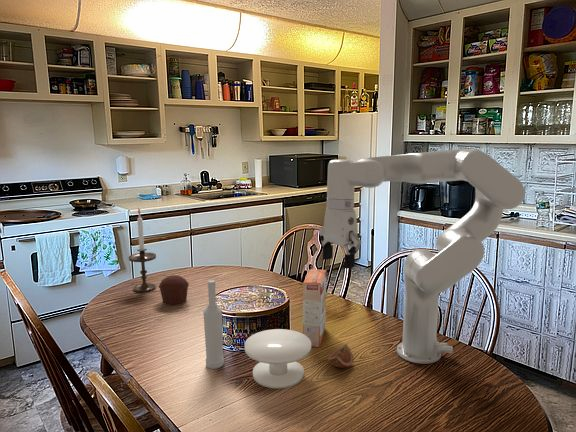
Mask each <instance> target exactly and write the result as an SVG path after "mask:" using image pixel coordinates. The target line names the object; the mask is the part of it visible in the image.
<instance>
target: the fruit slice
mask: <svg viewBox="0 0 576 432" xmlns="http://www.w3.org/2000/svg"><path fill="white" fill-rule="evenodd" d="M353 357H354V356H353V353H352V351H351V349H350V347H349V346H348V345H347V344H343V346H340V347H339V348H337V349H336V350H335V351H333V352H332V353H331V354H330V355H329V357H328V358H327V361H328V362H329V363H330V364H331V365H333V366H334V367H337V368H342V369H344V368H348V367H350V366H351V365H353V363H354V359H353Z"/></svg>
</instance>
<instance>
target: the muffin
mask: <svg viewBox="0 0 576 432" xmlns="http://www.w3.org/2000/svg"><path fill="white" fill-rule="evenodd" d="M189 286H190V283H189V282H188V281H187V280H186V278H184V277H183V276H181V275H174V274H173V275H168V276H166V277H164V278H163V279H162V280H161V281H160V283H159V285H158V289H159V290H160V295H161V299H162V303H163V304H165V305H166V306H177V305H178V306H179V305H182V304H184V303H186V301H187V298H188V296H187V295H188V290H189Z"/></svg>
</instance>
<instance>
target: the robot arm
mask: <svg viewBox="0 0 576 432" xmlns="http://www.w3.org/2000/svg"><path fill="white" fill-rule="evenodd" d="M457 181H464V182H468V183H469V184H470V185H471V186H472V187H474V189H475V191H474V192H475V198H474V202H473V206H471V208H470V210H469V211H468V212H467V213H465V215H463V216H462V217H461V218H459V219H458V220H457V221H455V223H453V224H452V225H450V226H449V227H448V228H447V229H445V230H443V232H441V233H440V234H439V235H438V237H437V239H436V240H435V241H436V242H435V243H436V244H435V247H436V248H437V251H438V253H436V254H434V253H433V252H432V251H430V250H427V249H424V248H420V249H419V248H418V249H415V250H413V251H411V252H410V253H408V255H407V256H406V258H405V260H404V263H403V278H404V279H403V280H404V302H403V303H404V304H403V322H402V323H403V325H402V342H400V343H399V344H398V345H397V346H396V353H397V355H398V356H399V357H400V358H402V359H403V360H405V361H407V362H411V363H415V364H422V365H425V364H427V365H429V364H432V363H433V364H434V363H436V362H438V361H440V360H441V358H442V353H446V354H453V352H454V349H453V348H454V347H453V346H451V345H448V343H447V342H440V341H439V340H438V338H437V333H438V332H437V330H438V329H437V328H438V316H439V314H438V313H439V301H440V299H439V298H440V294H441V293H444V292H445V291H447V290H449V289H451V287H453V286H455V284H457V283H458V282H459V281H461V280H462V279H463V278H465V277H466V276H467V275H469V274H470V273H472V272H473V271H475V270H476V268H478V266H479V265H480V264H481V262H482V260H483V259H484V255H485V247H484V244H483V241H485V240H486V239H487V238H488V237H489V236H490V235H492V234H493V233H494V232H495V231H496V229H497V228H498V227H499V225H500V223H501V220H502V218H503V214H504V210H512V209H515V208H517V207H518V206H520V205H521V204H522V202H523V201H524V200H525V196H526V190H525V186H524V184H523V183H522V181H521V180H520V179H519V178H517V177H516V176H515V175H514V174H513V173H512V172H510V171H509V170H507V169H506V168H505V167H504V166H502V165H501V164H500V163H499V162H497V160H496V159H494V158H493V157H491V156H490V155H489V154H488V153H486V152H485V151H481V150H479V149H473V148H472V149H471V148H460V149H457V148H456V149H447V150H436V151H424V152H414V153H413V152H411V153H406V154H405V153H404V154H396V155H394V154H393V155H384V156H383V155H382V156H373V157H372V156H371V157H363V158H360V159H359V160H357V161H354V160H351V159H342V158H341V159H331V160H329V162H328V164H327V183H326V184H327V185H326V186H327V187H326V208H325V213H324V221H323V227H321V228H319V229H318V231H319V236H320V237H319V239H320V240H321V246H322V260H324V261H326V260H331V259H333V254H334V252H333V249H334V247H333V246H334V245H337V246H339V247H343V249H344V251H345V253H344V261H343V262H344V264H343V268H344V269H346V270H347V269H351V268H354V267H355V260H356V259H355V257H356V254H357V253H358V251H359V250H360V247H361V245H362V241H361V239H360V238H359V237H358V221H357V214H356V210H354V209H355V187H361V188H368V189H372V188H374V189H375V188H376V187H379V186H380V185H382V183H383V182H404V183H410V184H419V185H420V184H422V185H424V184H430V183H431V184H432V183H444V182H457ZM332 244H333V245H332Z"/></svg>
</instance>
